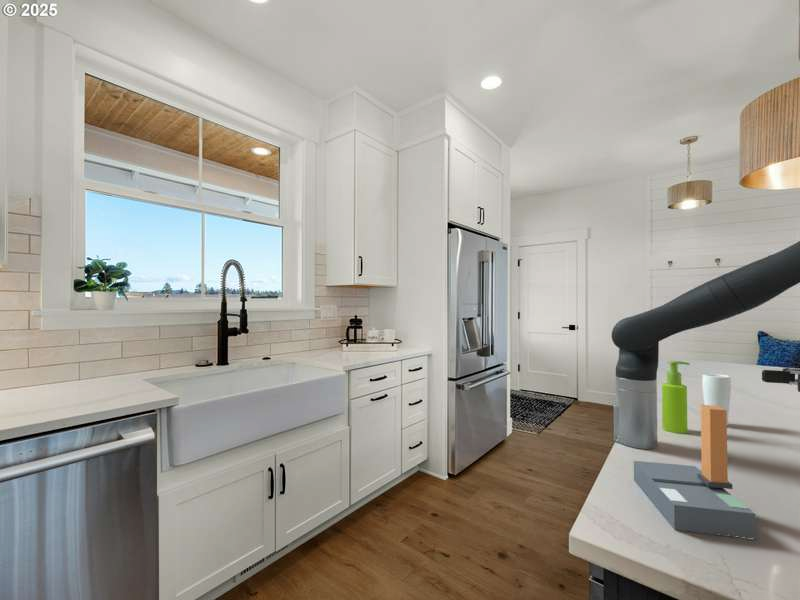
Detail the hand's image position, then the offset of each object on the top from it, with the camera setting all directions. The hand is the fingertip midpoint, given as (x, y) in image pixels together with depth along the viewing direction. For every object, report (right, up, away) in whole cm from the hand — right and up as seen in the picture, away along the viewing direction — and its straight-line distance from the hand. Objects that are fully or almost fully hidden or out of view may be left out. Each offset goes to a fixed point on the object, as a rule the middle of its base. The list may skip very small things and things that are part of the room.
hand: (780, 380), depth 66 cm
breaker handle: (-10, -19, +2) cm, 21 cm away
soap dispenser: (+15, -24, +45) cm, 53 cm away
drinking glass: (+31, -24, +50) cm, 64 cm away
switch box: (-14, -23, +3) cm, 27 cm away
